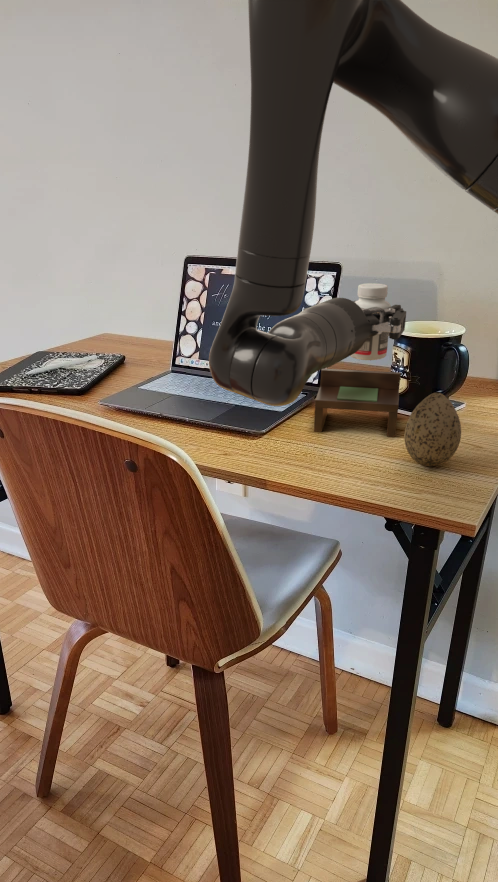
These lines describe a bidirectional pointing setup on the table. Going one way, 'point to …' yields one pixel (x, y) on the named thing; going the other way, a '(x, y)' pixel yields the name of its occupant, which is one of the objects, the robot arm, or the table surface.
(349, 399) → the bench
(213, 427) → the table surface
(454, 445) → the decorative egg
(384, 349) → the pill bottle
